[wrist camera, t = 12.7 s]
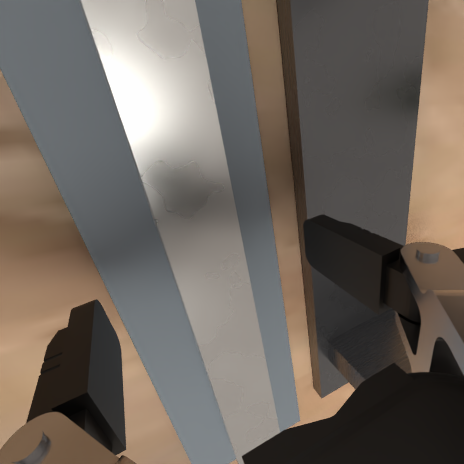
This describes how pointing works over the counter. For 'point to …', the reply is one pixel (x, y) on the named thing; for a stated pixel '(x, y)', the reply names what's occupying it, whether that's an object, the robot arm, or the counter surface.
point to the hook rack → (352, 157)
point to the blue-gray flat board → (136, 206)
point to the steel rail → (188, 194)
